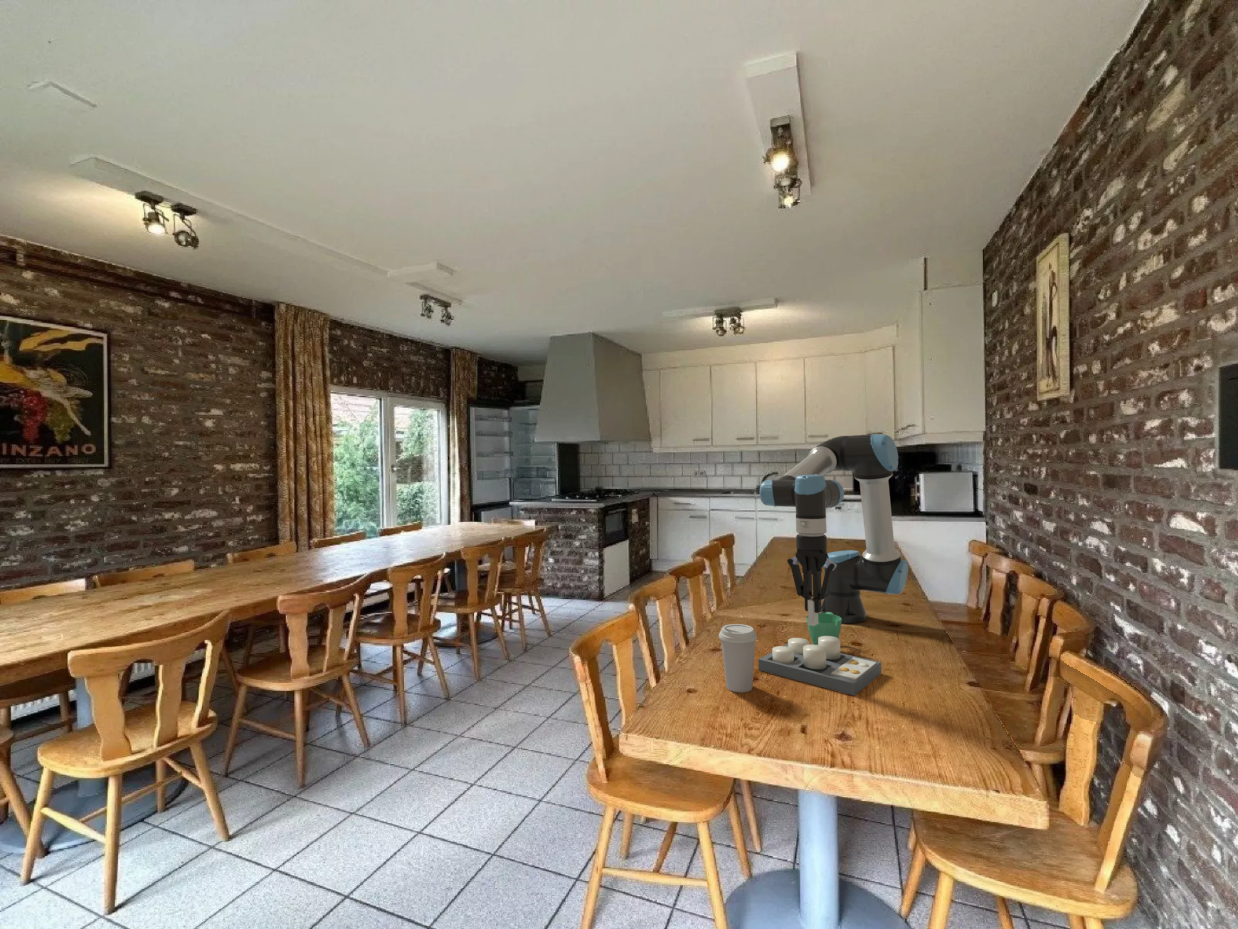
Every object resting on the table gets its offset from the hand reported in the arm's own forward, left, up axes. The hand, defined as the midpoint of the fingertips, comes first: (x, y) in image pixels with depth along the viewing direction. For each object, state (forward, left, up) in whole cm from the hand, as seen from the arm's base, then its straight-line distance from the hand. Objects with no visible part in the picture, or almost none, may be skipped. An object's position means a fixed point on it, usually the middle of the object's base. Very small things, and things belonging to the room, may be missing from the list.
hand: (813, 624), depth 149 cm
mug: (-23, -7, -14) cm, 28 cm away
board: (-5, -1, -14) cm, 15 cm away
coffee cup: (+17, -12, -14) cm, 26 cm away
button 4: (-9, 0, -11) cm, 14 cm away
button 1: (0, -9, -13) cm, 16 cm away
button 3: (0, 0, -11) cm, 11 cm away
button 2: (-9, -9, -13) cm, 18 cm away
